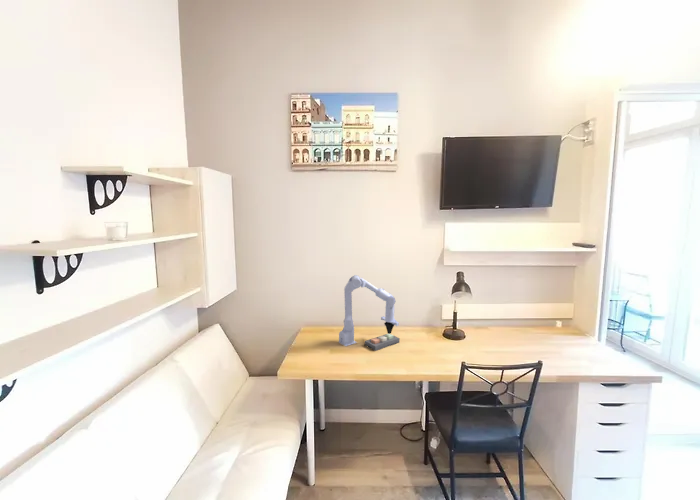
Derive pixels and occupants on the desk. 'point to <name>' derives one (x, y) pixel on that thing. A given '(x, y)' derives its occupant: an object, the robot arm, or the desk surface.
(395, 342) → the keypad
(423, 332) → the desk surface
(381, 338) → the cream key
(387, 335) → the sage key
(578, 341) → the desk surface
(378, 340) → the terracotta key
